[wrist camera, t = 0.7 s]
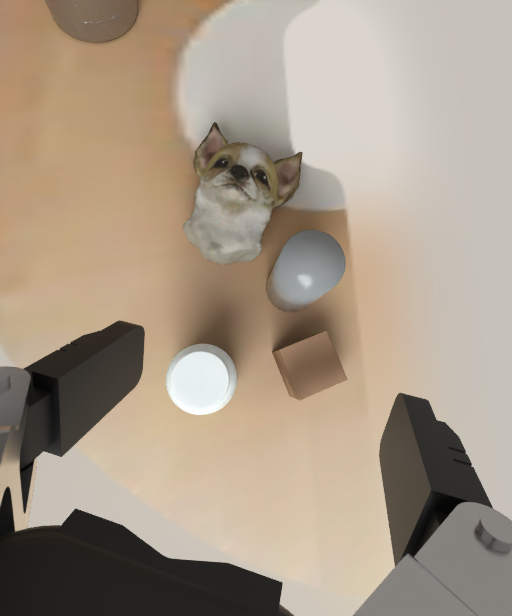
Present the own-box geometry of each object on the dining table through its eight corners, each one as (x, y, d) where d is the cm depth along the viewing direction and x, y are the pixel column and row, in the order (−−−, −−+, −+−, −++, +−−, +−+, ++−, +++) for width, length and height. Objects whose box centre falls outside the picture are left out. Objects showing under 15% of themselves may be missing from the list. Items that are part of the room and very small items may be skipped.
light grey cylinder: (258, 273, 35) (270, 242, 27) (303, 257, 36) (329, 221, 27) (277, 319, 35) (296, 302, 26) (322, 301, 36) (355, 279, 27)
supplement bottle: (165, 373, 33) (142, 375, 24) (209, 336, 34) (204, 323, 24) (202, 418, 33) (193, 438, 23) (245, 379, 34) (254, 383, 24)
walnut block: (271, 352, 34) (279, 349, 30) (313, 335, 35) (326, 330, 31) (289, 396, 34) (299, 400, 29) (331, 378, 34) (347, 379, 30)
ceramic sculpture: (144, 222, 26) (207, 70, 30) (160, 263, 35) (208, 140, 38) (280, 266, 27) (325, 111, 30) (263, 295, 35) (301, 171, 39)
